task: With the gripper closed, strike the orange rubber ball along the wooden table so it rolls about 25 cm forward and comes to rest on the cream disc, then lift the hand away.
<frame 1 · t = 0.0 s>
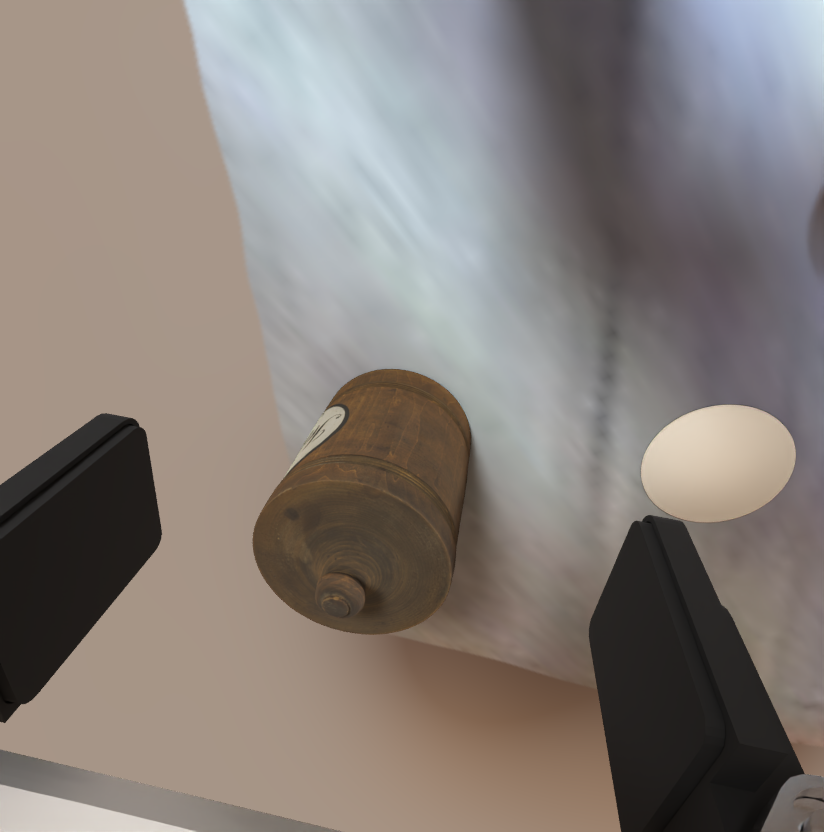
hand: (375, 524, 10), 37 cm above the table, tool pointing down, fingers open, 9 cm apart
wooden container: (397, 434, 53), on the table
cream disc: (715, 466, 49), on the table
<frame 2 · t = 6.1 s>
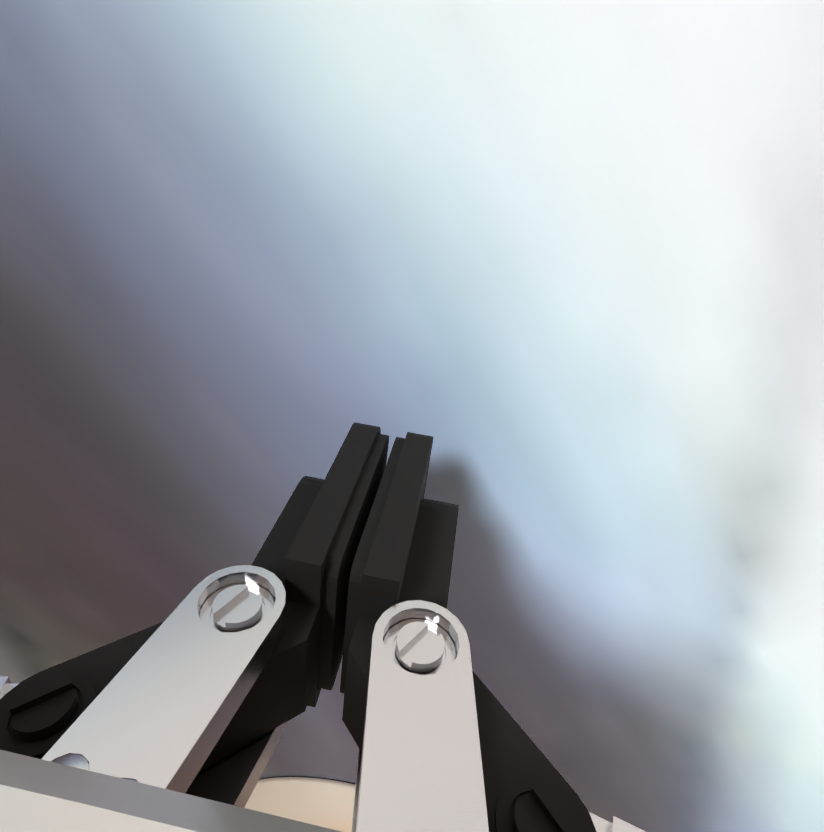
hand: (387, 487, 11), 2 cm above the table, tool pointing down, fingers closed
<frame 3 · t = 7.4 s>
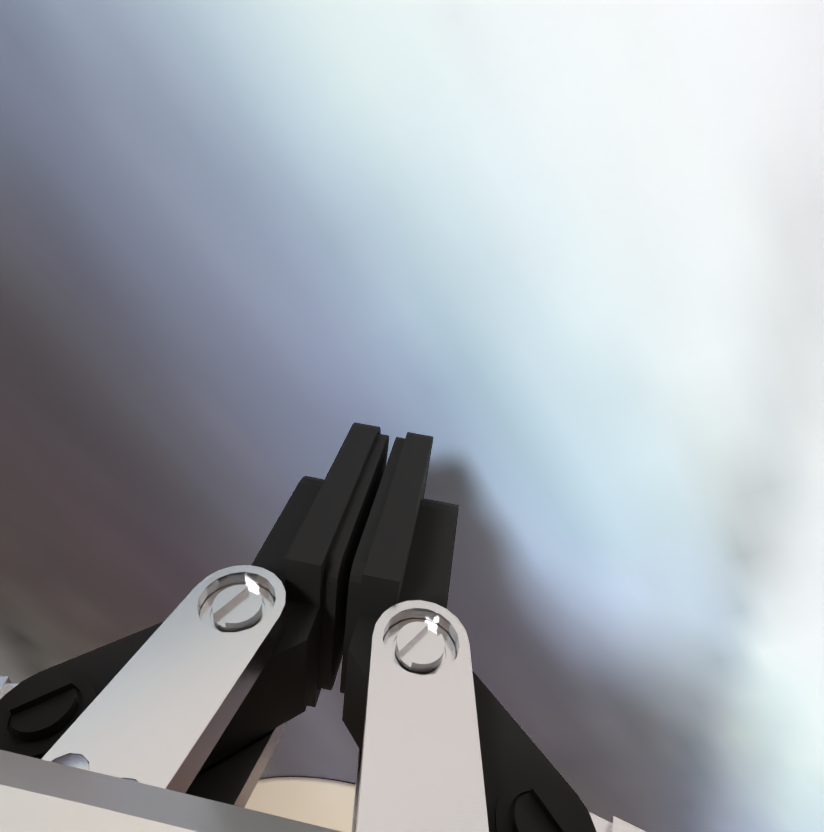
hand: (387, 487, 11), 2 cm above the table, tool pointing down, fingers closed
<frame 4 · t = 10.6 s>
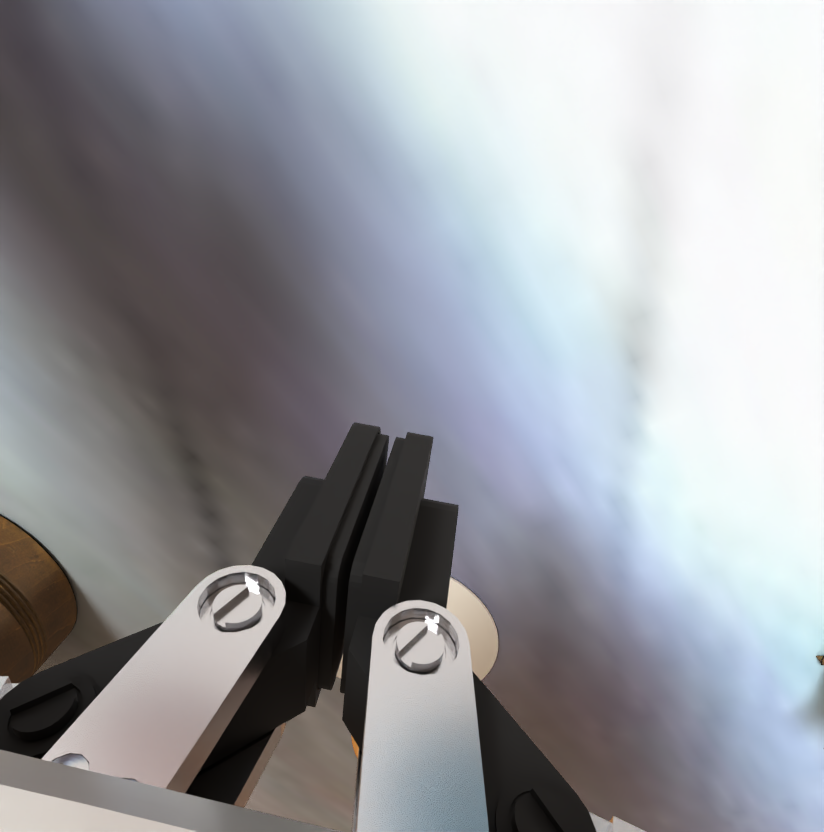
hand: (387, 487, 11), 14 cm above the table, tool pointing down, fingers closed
cream disc: (395, 633, 34), on the table
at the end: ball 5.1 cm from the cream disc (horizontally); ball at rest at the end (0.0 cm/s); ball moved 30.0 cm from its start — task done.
